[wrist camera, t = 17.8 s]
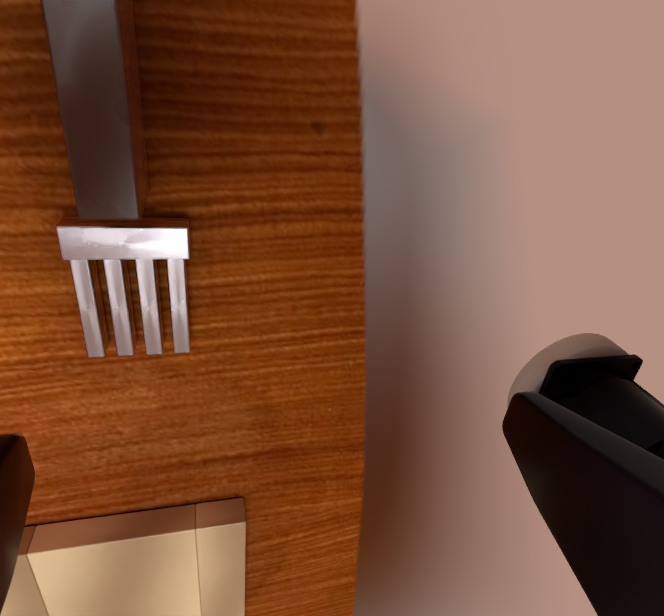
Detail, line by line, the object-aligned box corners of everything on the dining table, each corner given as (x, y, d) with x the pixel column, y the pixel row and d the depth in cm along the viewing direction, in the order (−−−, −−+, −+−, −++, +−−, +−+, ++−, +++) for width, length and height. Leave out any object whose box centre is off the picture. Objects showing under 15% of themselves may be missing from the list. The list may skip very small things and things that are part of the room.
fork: (168, -169, 11) (159, -226, 9) (195, 338, 19) (195, 385, 16) (-20, -210, 10) (-90, -288, 8) (87, 343, 18) (68, 395, 15)
